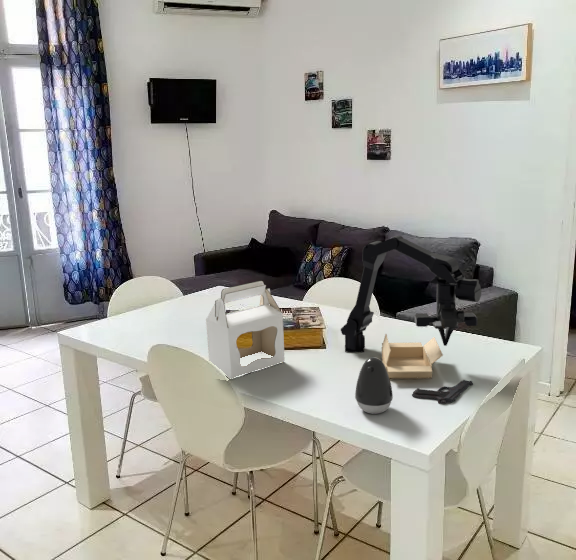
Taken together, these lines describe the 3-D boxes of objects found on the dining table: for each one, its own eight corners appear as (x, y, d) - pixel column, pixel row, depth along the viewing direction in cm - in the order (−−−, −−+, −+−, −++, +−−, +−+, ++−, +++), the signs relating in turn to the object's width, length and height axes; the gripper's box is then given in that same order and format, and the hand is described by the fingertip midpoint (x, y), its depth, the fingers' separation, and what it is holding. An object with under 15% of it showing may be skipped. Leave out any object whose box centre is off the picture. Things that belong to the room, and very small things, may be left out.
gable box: (230, 380, 194) (225, 294, 188) (208, 369, 205) (202, 287, 198) (285, 362, 208) (282, 282, 201) (262, 352, 218) (258, 275, 211)
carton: (386, 383, 187) (386, 371, 186) (380, 353, 212) (380, 342, 211) (433, 383, 186) (433, 371, 185) (422, 353, 211) (422, 342, 210)
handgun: (436, 372, 191) (474, 380, 184) (436, 378, 192) (474, 386, 185) (410, 392, 177) (450, 401, 170) (410, 398, 177) (450, 408, 170)
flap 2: (431, 363, 189) (442, 354, 188) (423, 345, 205) (434, 337, 204) (431, 364, 189) (443, 355, 188) (424, 346, 205) (434, 337, 204)
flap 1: (386, 364, 190) (389, 350, 189) (382, 346, 207) (385, 333, 205) (386, 364, 190) (390, 351, 189) (382, 346, 207) (386, 333, 205)
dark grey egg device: (350, 415, 167) (350, 363, 164) (360, 400, 176) (359, 350, 173) (388, 420, 163) (388, 366, 160) (395, 404, 173) (396, 353, 169)
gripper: (419, 305, 186) (418, 354, 189) (482, 304, 184) (480, 353, 188) (414, 296, 196) (414, 342, 200) (474, 294, 195) (472, 341, 198)
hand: (445, 345), depth 196 cm, fingers closed
